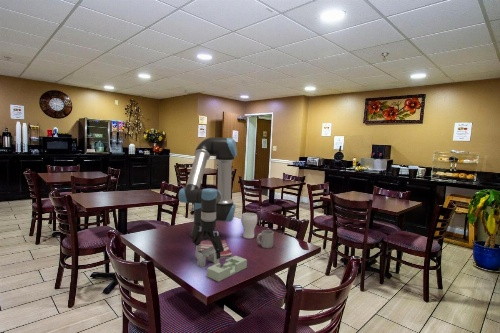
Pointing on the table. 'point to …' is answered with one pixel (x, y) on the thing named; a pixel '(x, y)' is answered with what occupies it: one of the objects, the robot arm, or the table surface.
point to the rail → (226, 268)
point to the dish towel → (207, 244)
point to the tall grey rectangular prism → (203, 254)
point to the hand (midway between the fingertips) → (207, 261)
